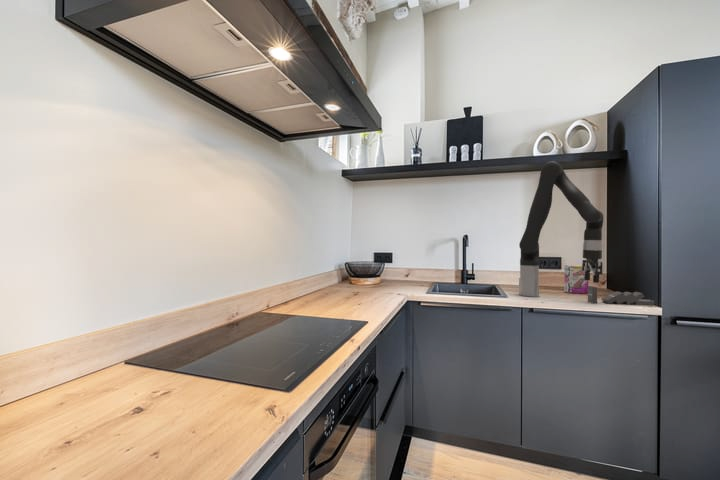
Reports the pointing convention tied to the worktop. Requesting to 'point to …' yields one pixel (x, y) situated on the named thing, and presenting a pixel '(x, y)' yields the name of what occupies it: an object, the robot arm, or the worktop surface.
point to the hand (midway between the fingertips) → (591, 281)
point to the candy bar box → (574, 280)
